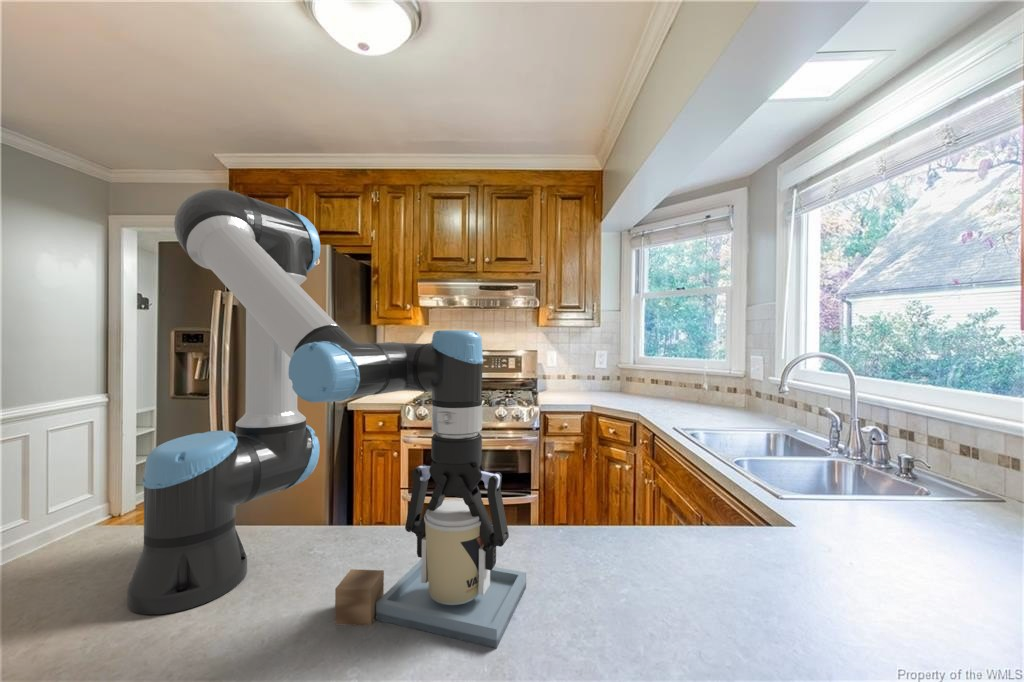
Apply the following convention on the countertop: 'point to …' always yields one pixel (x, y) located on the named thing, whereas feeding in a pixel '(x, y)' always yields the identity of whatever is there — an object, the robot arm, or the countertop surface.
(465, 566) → the coffee cup
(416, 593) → the collection tray
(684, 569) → the countertop surface
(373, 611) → the walnut block
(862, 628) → the countertop surface
